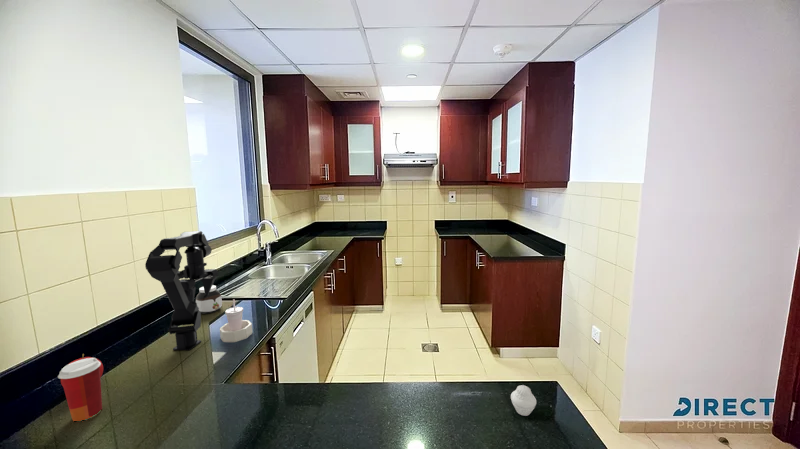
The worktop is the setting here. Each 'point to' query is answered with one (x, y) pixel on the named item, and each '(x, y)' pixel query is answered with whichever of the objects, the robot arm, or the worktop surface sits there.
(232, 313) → the smoothie
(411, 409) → the worktop surface
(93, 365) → the paper cup
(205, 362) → the worktop surface
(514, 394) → the white rounded blob
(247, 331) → the bowl
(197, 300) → the spread jar
